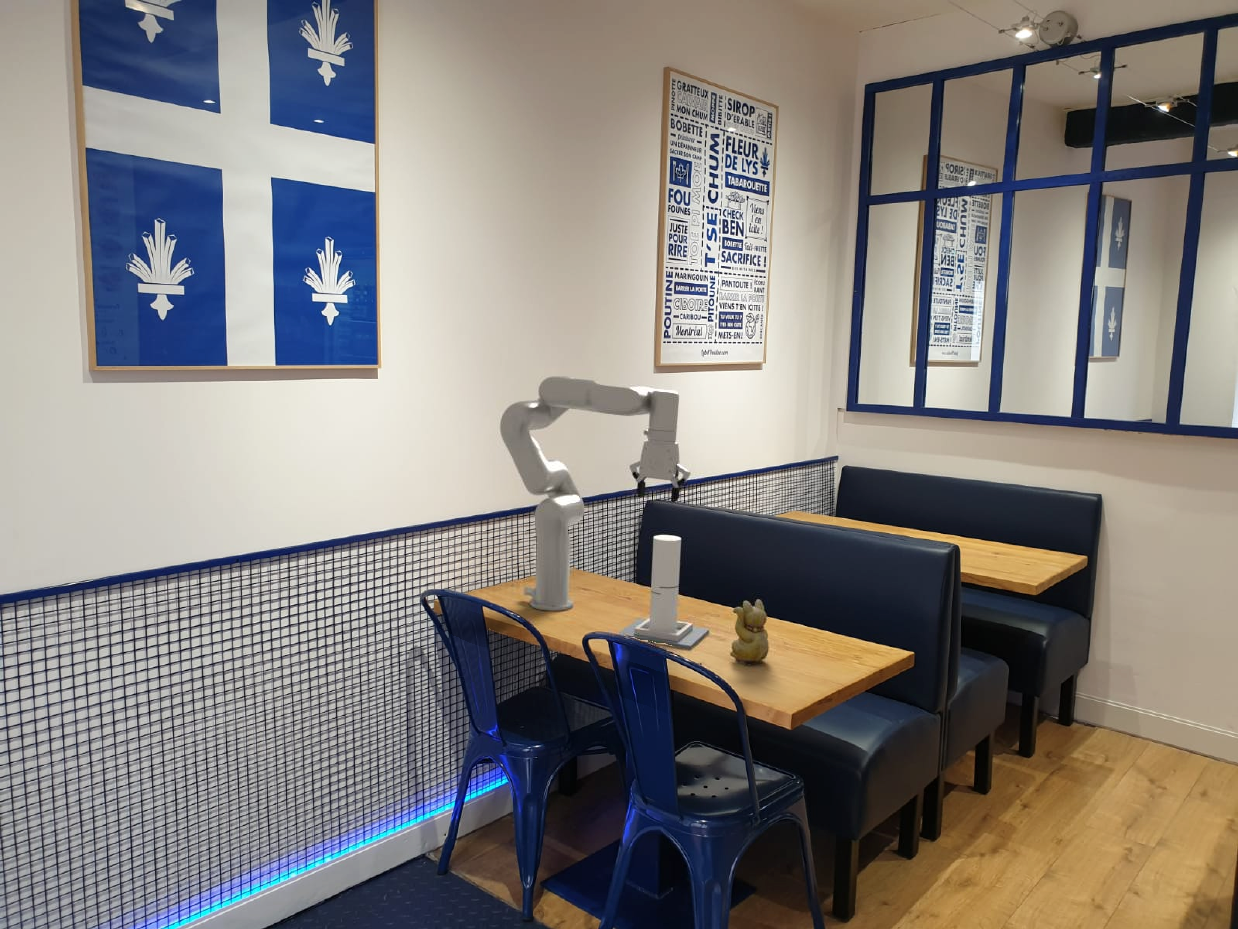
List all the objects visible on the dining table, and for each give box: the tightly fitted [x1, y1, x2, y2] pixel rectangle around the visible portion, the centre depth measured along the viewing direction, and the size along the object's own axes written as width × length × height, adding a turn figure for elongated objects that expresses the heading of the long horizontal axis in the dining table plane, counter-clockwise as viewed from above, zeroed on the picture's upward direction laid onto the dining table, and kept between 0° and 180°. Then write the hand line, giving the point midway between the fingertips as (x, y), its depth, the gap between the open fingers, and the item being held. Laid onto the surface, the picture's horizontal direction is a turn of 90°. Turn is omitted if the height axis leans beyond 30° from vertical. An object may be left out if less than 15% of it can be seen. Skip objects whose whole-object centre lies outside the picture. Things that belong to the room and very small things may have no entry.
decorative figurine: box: [729, 599, 770, 666], centre depth 228 cm, size 10×8×15 cm
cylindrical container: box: [649, 534, 682, 634], centre depth 246 cm, size 7×7×25 cm
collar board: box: [618, 617, 710, 651], centre depth 247 cm, size 20×16×2 cm
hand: (657, 499), depth 254 cm, fingers open, 9 cm apart
